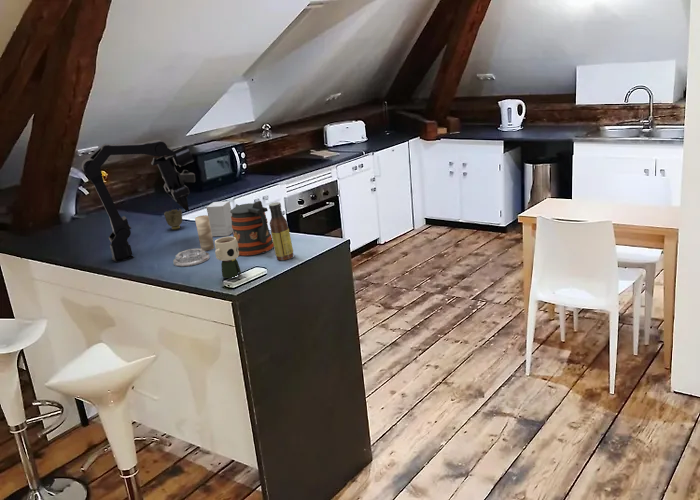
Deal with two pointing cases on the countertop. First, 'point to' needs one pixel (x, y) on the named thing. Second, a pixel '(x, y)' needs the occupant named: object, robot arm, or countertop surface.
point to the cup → (174, 218)
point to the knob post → (204, 232)
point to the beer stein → (251, 229)
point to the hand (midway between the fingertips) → (184, 208)
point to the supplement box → (220, 218)
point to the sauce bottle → (280, 233)
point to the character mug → (228, 256)
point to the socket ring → (191, 257)
